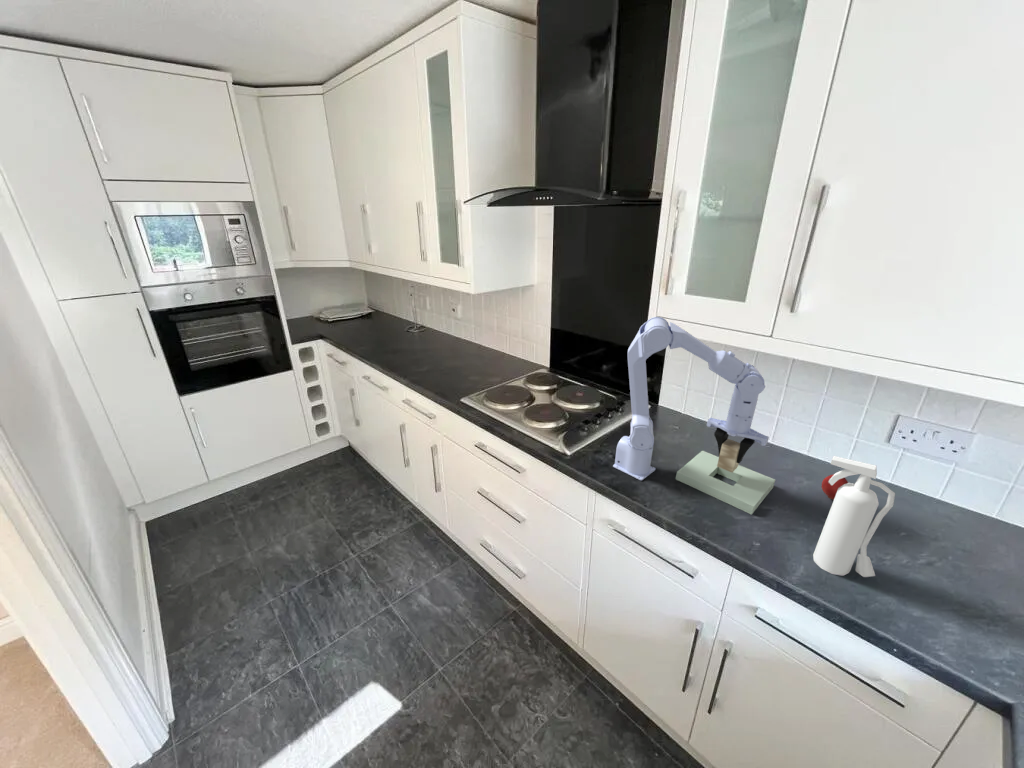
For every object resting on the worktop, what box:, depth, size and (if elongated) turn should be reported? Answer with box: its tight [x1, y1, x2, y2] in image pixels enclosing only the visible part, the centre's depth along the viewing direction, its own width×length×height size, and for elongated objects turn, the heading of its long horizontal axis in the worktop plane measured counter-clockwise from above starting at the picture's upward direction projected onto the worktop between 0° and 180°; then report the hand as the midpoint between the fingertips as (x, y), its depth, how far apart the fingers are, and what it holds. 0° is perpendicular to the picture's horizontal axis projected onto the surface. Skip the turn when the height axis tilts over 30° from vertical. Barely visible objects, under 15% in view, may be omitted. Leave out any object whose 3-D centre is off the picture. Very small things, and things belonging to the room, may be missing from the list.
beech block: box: [717, 438, 740, 473], centre depth 113 cm, size 4×4×7 cm
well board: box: [675, 450, 776, 515], centre depth 116 cm, size 20×16×2 cm
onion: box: [821, 473, 849, 500], centre depth 109 cm, size 6×6×8 cm
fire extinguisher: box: [812, 455, 896, 578], centre depth 85 cm, size 7×12×25 cm, turn 44°
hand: (729, 458), depth 113 cm, fingers closed on beech block, 4 cm apart
